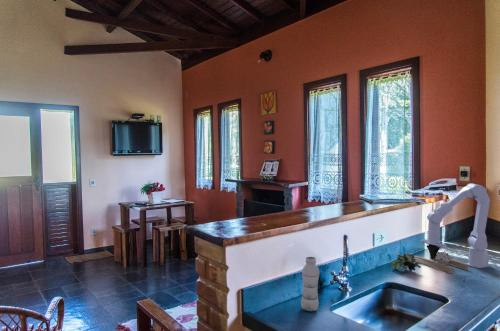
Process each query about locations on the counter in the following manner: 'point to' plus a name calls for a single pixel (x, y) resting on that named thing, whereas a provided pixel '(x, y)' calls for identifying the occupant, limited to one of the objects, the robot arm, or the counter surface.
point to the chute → (441, 266)
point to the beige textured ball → (443, 258)
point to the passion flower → (405, 262)
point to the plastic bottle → (310, 285)
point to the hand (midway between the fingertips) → (433, 258)
